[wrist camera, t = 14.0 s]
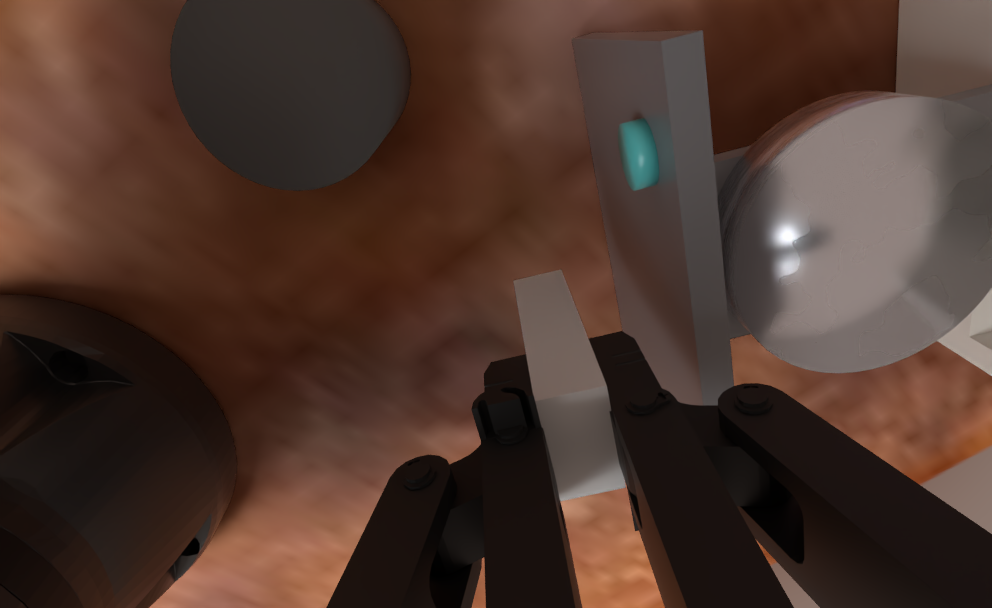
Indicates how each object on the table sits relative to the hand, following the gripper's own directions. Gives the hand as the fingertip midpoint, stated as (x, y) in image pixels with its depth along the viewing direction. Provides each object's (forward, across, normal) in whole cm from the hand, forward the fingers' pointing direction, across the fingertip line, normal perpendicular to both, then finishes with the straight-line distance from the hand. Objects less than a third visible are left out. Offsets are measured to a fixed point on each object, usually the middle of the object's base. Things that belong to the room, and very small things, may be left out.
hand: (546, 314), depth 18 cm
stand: (+6, -5, +8) cm, 12 cm away
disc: (+1, +9, 0) cm, 9 cm away
